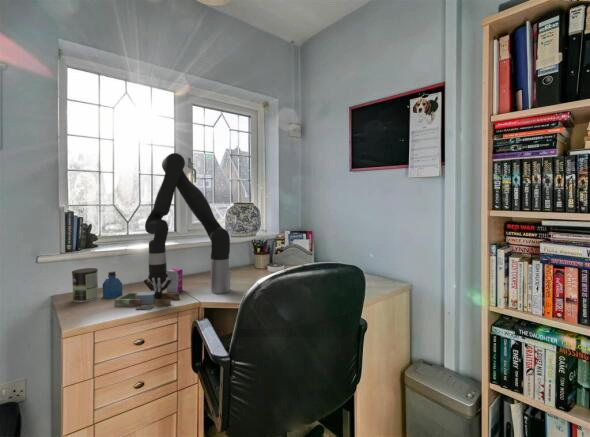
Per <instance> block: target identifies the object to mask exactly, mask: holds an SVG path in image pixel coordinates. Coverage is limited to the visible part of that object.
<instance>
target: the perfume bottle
mask: <svg viewBox="0 0 590 437" xmlns="http://www.w3.org/2000/svg"><path fill="white" fill-rule="evenodd" d="M107 273H108V274H107V277H108V278H105V280H104V281H103V283H102V297H103V298H106V299H110V300H111V299H113V298H114V299H115V298H119V297H121V296H123V283H122V281H121V280H120V278H118V277H117V274H116V271H109V272H107Z"/></svg>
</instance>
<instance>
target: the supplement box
mask: <svg viewBox="0 0 590 437" xmlns="http://www.w3.org/2000/svg"><path fill="white" fill-rule="evenodd" d="M167 275H168V278H170V279H172V282H171V283H170V284H169V286H168V287H167V288H166V293H180V292H181V291H183V269H181V268H172V269H168V270H167Z"/></svg>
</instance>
